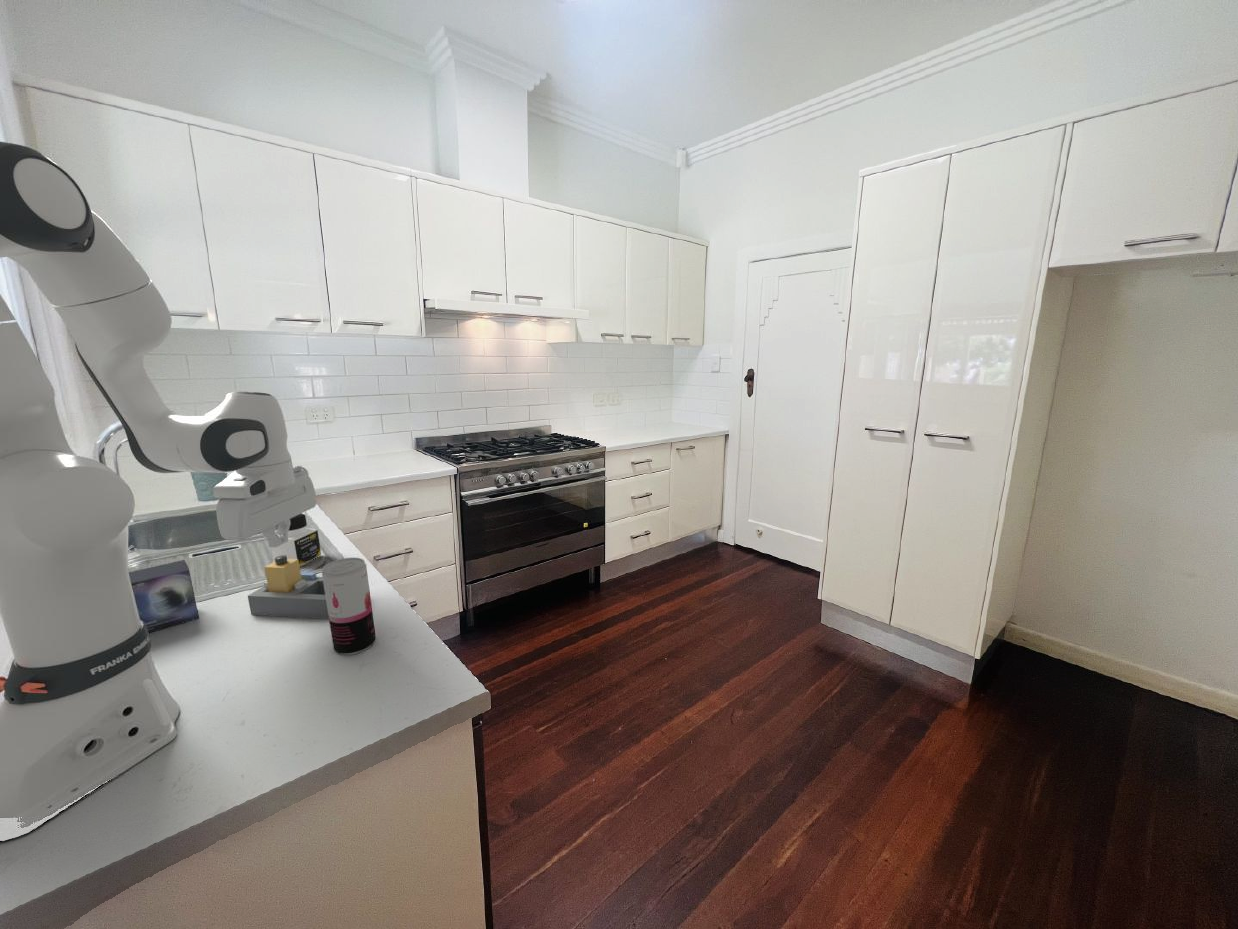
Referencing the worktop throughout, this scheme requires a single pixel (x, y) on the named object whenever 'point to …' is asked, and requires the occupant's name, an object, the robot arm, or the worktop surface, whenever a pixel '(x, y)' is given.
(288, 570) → the drawer with knob
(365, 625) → the beverage can
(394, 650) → the worktop surface
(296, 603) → the grey compartment tray
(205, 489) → the teal cup
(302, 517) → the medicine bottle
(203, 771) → the worktop surface
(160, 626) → the small box
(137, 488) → the worktop surface
